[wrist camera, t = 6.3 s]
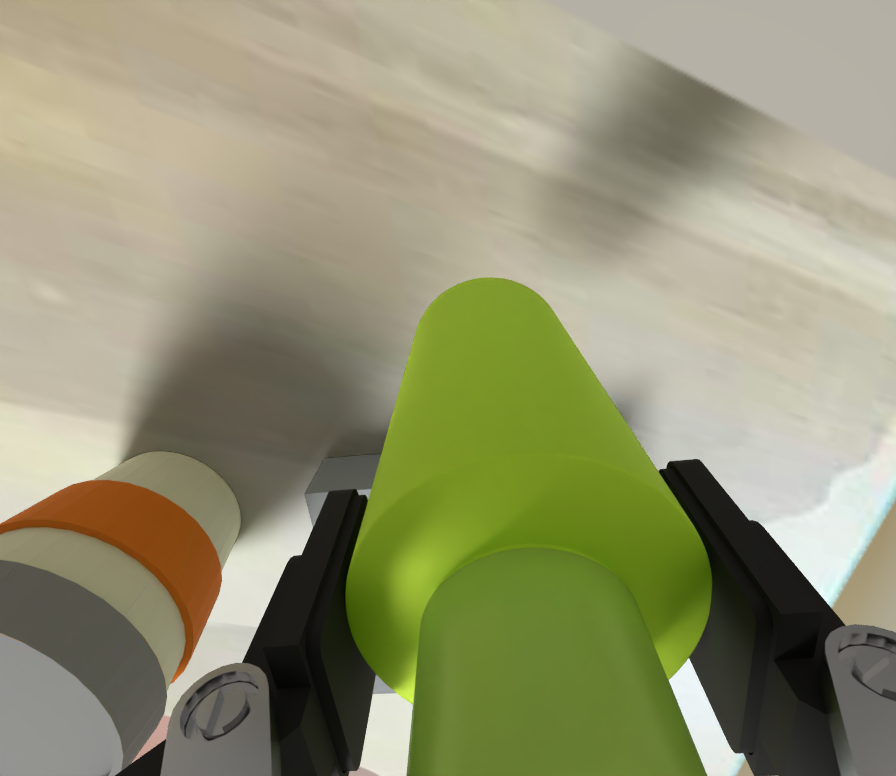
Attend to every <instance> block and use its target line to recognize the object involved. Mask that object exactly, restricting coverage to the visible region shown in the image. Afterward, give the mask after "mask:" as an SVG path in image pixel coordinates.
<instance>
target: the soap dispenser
mask: <svg viewBox="0 0 896 776" xmlns="http://www.w3.org/2000/svg"><path fill="white" fill-rule="evenodd" d="M711 593H712V574H711V567H710V563H709V559H708V555H707V552H706V549H705V547H704V544H703V542H702V540H701V538H700V536H699V534H698V532H697V530H696V529H695V527H694V525H693V524H692V522H691V521H690V519H689V518H688V516H687V515H686V513H685V512H684V510H683V509H682V507H681V505H680V504H679V502H678V501H677V499H676V498H675V496H674V495H673V493H672V492H671V490H670V489H669V487H668V486H667V484H666V483H665V481H664V479H663V478H662V476H661V475H660V473H659V472H658V470H657V469H656V467H655V466H654V464H653V463H652V461H651V460H650V458H649V457H648V455H647V454H646V452H645V450H644V449H643V447H642V446H641V444H640V443H639V441H638V440H637V438H636V437H635V435H634V434H633V432H632V431H631V429H630V428H629V426H628V425H627V423H626V421H625V420H624V418H623V417H622V415H621V414H620V412H619V411H618V409H617V408H616V406H615V405H614V403H613V402H612V400H611V399H610V397H609V395H608V394H607V392H606V391H605V389H604V388H603V386H602V385H601V383H600V382H599V380H598V379H597V377H596V376H595V374H594V373H593V371H592V370H591V368H590V366H589V365H588V363H587V362H586V360H585V359H584V357H583V356H582V354H581V353H580V351H579V350H578V348H577V347H576V345H575V344H574V342H573V340H572V339H571V337H570V336H569V334H568V333H567V331H566V330H565V328H564V327H563V325H562V324H561V322H560V321H559V319H558V318H557V316H556V315H555V313H554V311H553V310H552V309H551V307H550V306H549V305H548V303H547V302H546V301H545V300H544V299H543V298H542V297H541V296H540V295H538V294H537V293H536V292H534V291H533V290H532V289H530V288H528V287H526V286H524V285H522V284H520V283H518V282H515V281H512V280H508V279H502V278H478V279H473V280H469V281H465V282H463V283H460V284H458V285H456V286H454V287H452V288H450V289H448V290H447V291H445V292H444V293H442V294H441V295H440V296H439V297H438V298H437V299H435V300H434V301H433V303H432V304H431V305H430V306H429V307H428V309H427V310H426V311H425V313H424V315H423V316H422V318H421V320H420V322H419V324H418V327H417V330H416V333H415V337H414V340H413V344H412V347H411V351H410V354H409V358H408V362H407V365H406V369H405V372H404V376H403V379H402V383H401V386H400V390H399V393H398V397H397V400H396V404H395V407H394V411H393V414H392V418H391V422H390V425H389V429H388V432H387V436H386V439H385V443H384V446H383V450H382V453H381V457H380V460H379V464H378V467H377V471H376V475H375V478H374V482H373V485H372V489H371V492H370V496H369V499H368V503H367V506H366V510H365V513H364V517H363V520H362V524H361V527H360V531H359V535H358V538H357V542H356V545H355V549H354V552H353V556H352V559H351V563H350V566H349V570H348V575H347V581H346V591H345V601H346V612H347V618H348V622H349V626H350V630H351V633H352V636H353V638H354V641H355V643H356V645H357V647H358V649H359V651H360V652H361V654H362V656H363V657H364V659H365V660H366V662H367V663H368V665H369V666H370V667H371V669H372V670H373V671H374V672H375V673H376V675H377V676H378V677H379V678H380V679H381V680H382V681H383V682H384V683H385V684H386V685H387V686H389V687H390V688H391V689H392V690H393V691H395V692H396V693H397V694H398V695H400V696H401V697H403V698H404V699H406V700H407V701H409V702H410V703H412V704H413V711H412V722H411V733H410V744H409V755H408V766H407V776H707V774H706V772H705V769H704V767H703V764H702V762H701V759H700V757H699V754H698V752H697V749H696V747H695V744H694V742H693V740H692V737H691V735H690V732H689V730H688V727H687V725H686V722H685V720H684V717H683V715H682V712H681V710H680V708H679V705H678V703H677V700H676V698H675V695H674V693H673V690H672V688H671V685H670V683H669V679H670V678H671V677H672V676H673V675H674V674H675V673H676V672H677V671H678V670H679V669H680V668H681V667H682V665H683V664H684V663H685V662H686V661H687V659H688V658H689V656H690V655H691V654H692V652H693V651H694V649H695V647H696V646H697V644H698V642H699V640H700V638H701V636H702V634H703V631H704V629H705V626H706V624H707V620H708V617H709V612H710V604H711Z"/></svg>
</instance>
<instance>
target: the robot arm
mask: <svg viewBox="0 0 896 776" xmlns="http://www.w3.org/2000/svg"><path fill="white" fill-rule="evenodd" d="M659 473H660V475H661V476H662V478H663V479H664V481H665V483H666V484H667V486H668V487H669V489H670V490H671V492H672V493H673V495H674V496H675V498H676V499H677V501H678V502H679V504H680V505H681V507H682V509H683V510H684V512H685V513H686V515H687V516H688V518H689V519H690V521H691V522H692V524H693V525H694V527H695V529H696V530H697V532H698V534H699V536H700V538H701V540H702V542H703V544H704V547H705V549H706V552H707V555H708V559H709V563H710V567H711V574H712V593H711V604H710V612H709V617H708V620H707V624H706V626H705V629H704V631H703V634H702V636H701V638H700V640H699V642H698V644H697V646H696V647H695V649H694V651H693V652H692V654H691V655H690V656H689V658H690V661H691V663H692V665H693V667H694V669H695V672H696V674H697V676H698V678H699V680H700V682H701V685H702V687H703V689H704V691H705V693H706V696H707V698H708V700H709V702H710V704H711V706H712V709H713V711H714V713H715V715H716V717H717V720H718V722H719V724H720V726H721V728H722V730H723V733H724V735H725V737H726V739H727V741H728V743H729V745H730V747H731V749H732V750H733V751H734V752H735V753H744V755H745V757H746V760H747V762H748V764H749V766H750V768H751V770H752V772H753V774H754V776H774V775H778V776H896V633H895V632H893V631H889V630H885V629H882V628H879V627H875V626H868V625H856V624H855V625H849V626H845V624H844V623H843V622H842V621H841V619H840V618H839V617H838V616H837V615H836V613H835V612H834V611H833V610H832V609H831V607H830V606H829V605H828V604H827V603H826V601H825V600H824V599H823V598H822V597H821V595H820V594H819V593H818V592H817V591H816V589H815V588H814V587H813V586H812V585H811V583H810V582H809V581H808V580H807V579H806V577H805V576H804V575H803V574H802V573H801V571H800V570H799V569H798V568H797V567H796V565H795V564H794V563H793V562H792V561H791V559H790V558H789V557H788V556H787V555H786V553H785V552H784V551H783V550H782V549H781V547H780V546H779V545H778V544H777V543H776V542H775V540H774V539H773V538H772V537H771V536H770V534H769V533H768V532H767V531H766V530H765V528H764V527H763V526H762V525H761V524H760V523H758V522H756V521H753V520H750V521H749V520H748V519H747V517H746V516H745V515H744V514H743V512H742V511H741V510H740V509H739V507H738V506H737V505H736V504H735V502H734V501H733V500H732V499H731V498H730V496H729V495H728V494H727V493H726V491H725V490H724V489H723V488H722V486H721V485H720V484H719V483H718V481H717V480H716V479H715V478H714V477H713V475H712V474H711V473H710V472H709V470H708V469H707V468H706V467H705V465H704V464H703V463H702V462H701V461H700V460H698V459H693V460H681V461H670V462H669V463H668V465H667V469H660V470H659ZM367 503H368V499H367V496H366V495H359V494H358V491H357V490H356V489H346V490H334V491H329V493H328V494H327V496H326V499H325V501H324V504H323V506H322V508H321V511H320V513H319V515H318V518H317V520H316V522H315V525H314V527H313V529H312V532H311V534H310V537H309V539H308V541H307V544H306V546H305V548H304V551H303V553H302V555H298V556H293V557H291V558H290V560H289V561H288V563H287V565H286V567H285V569H284V571H283V574H282V576H281V578H280V580H279V582H278V585H277V587H276V589H275V591H274V594H273V596H272V598H271V600H270V602H269V605H268V607H267V609H266V611H265V613H264V616H263V618H262V620H261V622H260V624H259V627H258V629H257V631H256V633H255V636H254V638H253V640H252V642H251V644H250V647H249V649H248V651H247V653H246V655H245V658H244V660H243V662H242V663H234V664H230V665H226V666H222V667H220V668H218V669H216V670H213V671H211V672H209V673H207V674H206V675H205V676H203V677H202V678H200V679H199V680H198V681H196V682H195V683H194V684H193V685H192V686H191V687H190V688H189V689H188V690H187V691H186V692H185V693H184V694H183V695H182V696H181V698H180V700H179V701H178V703H177V704H176V706H175V707H174V709H173V712H172V715H171V718H170V721H169V725H168V731H167V737H166V739H165V740H164V741H163V742H161V743H160V744H158V745H157V746H156V747H154V748H153V749H151V750H150V751H149V752H147V753H146V754H144V755H143V756H142V757H140V758H139V759H138V760H136V761H135V762H133V763H132V764H130V765H129V766H128V767H126V768H125V769H123V770H122V771H121V772H119V773H118V774H116V775H115V776H348V775H349V771H357V770H358V768H359V766H360V762H361V757H362V751H363V745H364V740H365V734H366V728H367V723H368V717H369V711H370V706H371V700H372V694H373V689H374V683H375V677H376V673H375V672H374V671H373V670H372V669H371V667H370V666H369V665H368V663H367V662H366V660H365V659H364V657H363V656H362V654H361V652H360V651H359V649H358V647H357V645H356V643H355V641H354V638H353V636H352V633H351V630H350V626H349V622H348V618H347V612H346V601H345V591H346V581H347V575H348V570H349V566H350V563H351V559H352V556H353V552H354V549H355V545H356V542H357V538H358V535H359V531H360V527H361V524H362V520H363V517H364V513H365V510H366V506H367Z"/></svg>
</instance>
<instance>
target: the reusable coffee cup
mask: <svg viewBox="0 0 896 776" xmlns="http://www.w3.org/2000/svg"><path fill="white" fill-rule="evenodd" d="M240 526H241V513H240V509H239V505H238V501H237V499H236V497H235V495H234V493H233V491H232V490H231V489H230V487H229V486H228V485H227V483H226V482H225V481H224V480H223V479H222V478H221V477H220V476H219V475H218V474H217V473H216V472H215V471H214V470H212V469H211V468H209V467H208V466H207V465H205V464H204V463H202V462H200V461H198V460H196V459H193V458H191V457H189V456H185V455H182V454H179V453H174V452H166V451H154V452H147V453H143V454H139V455H137V456H135V457H133V458H131V459H129V460H127V461H125V462H123V463H122V464H120V465H118V466H117V467H115V468H113V469H111V470H110V471H108V472H106V473H104V474H103V475H101V476H99V477H97V478H96V479H94V480H91V481H86V482H81V483H77V484H73V485H71V486H69V487H67V488H64V489H62V490H60V491H58V492H56V493H55V494H53V495H51V496H49V497H48V498H46V499H44V500H42V501H40V502H39V503H37V504H35V505H33V506H31V507H30V508H28V509H26V510H24V511H23V512H21V513H19V514H17V515H15V516H14V517H12V518H10V519H8V520H6V521H5V522H3V523H1V524H0V776H115V775H116V774H118V773H119V772H121V771H122V770H123V769H125V768H126V767H128V766H129V765H130V764H131V763H132V761H133V760H134V758H135V757H136V756H137V754H138V753H139V751H140V750H141V749H142V747H143V746H144V744H145V743H146V742H147V740H148V739H149V737H150V736H151V735H152V733H153V732H154V730H155V729H156V728H157V726H158V724H159V722H160V720H161V718H162V716H163V714H164V711H165V705H166V699H167V690H168V688H169V685H170V684H171V683H173V682H174V681H175V680H176V679H177V678H178V677H179V676H180V675H181V674H182V673H183V672H184V670H185V668H186V666H187V664H188V662H189V660H190V659H191V656H192V654H193V652H194V650H195V647H196V645H197V643H198V641H199V638H200V636H201V634H202V631H203V629H204V627H205V625H206V622H207V620H208V618H209V615H210V613H211V611H212V609H213V606H214V604H215V602H216V600H217V597H218V595H219V592H220V587H221V582H222V575H221V571H222V569H223V567H224V565H225V563H226V560H227V558H228V556H229V554H230V552H231V549H232V547H233V545H234V543H235V541H236V538H237V536H238V534H239V530H240Z"/></svg>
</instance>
